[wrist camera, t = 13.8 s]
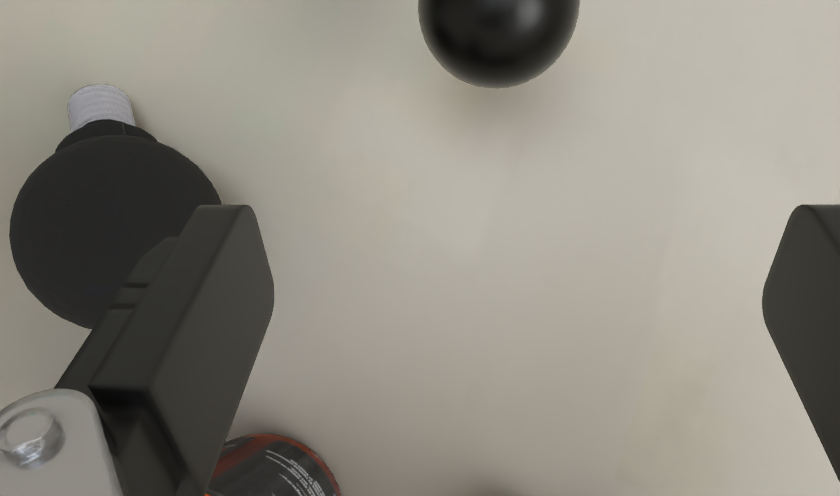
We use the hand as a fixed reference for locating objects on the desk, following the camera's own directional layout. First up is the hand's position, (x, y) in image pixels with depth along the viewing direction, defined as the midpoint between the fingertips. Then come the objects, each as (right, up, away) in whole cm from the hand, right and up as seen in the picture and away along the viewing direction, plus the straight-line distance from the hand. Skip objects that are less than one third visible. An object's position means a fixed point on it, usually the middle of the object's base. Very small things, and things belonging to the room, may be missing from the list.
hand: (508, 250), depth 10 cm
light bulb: (-11, +1, +15) cm, 19 cm away
